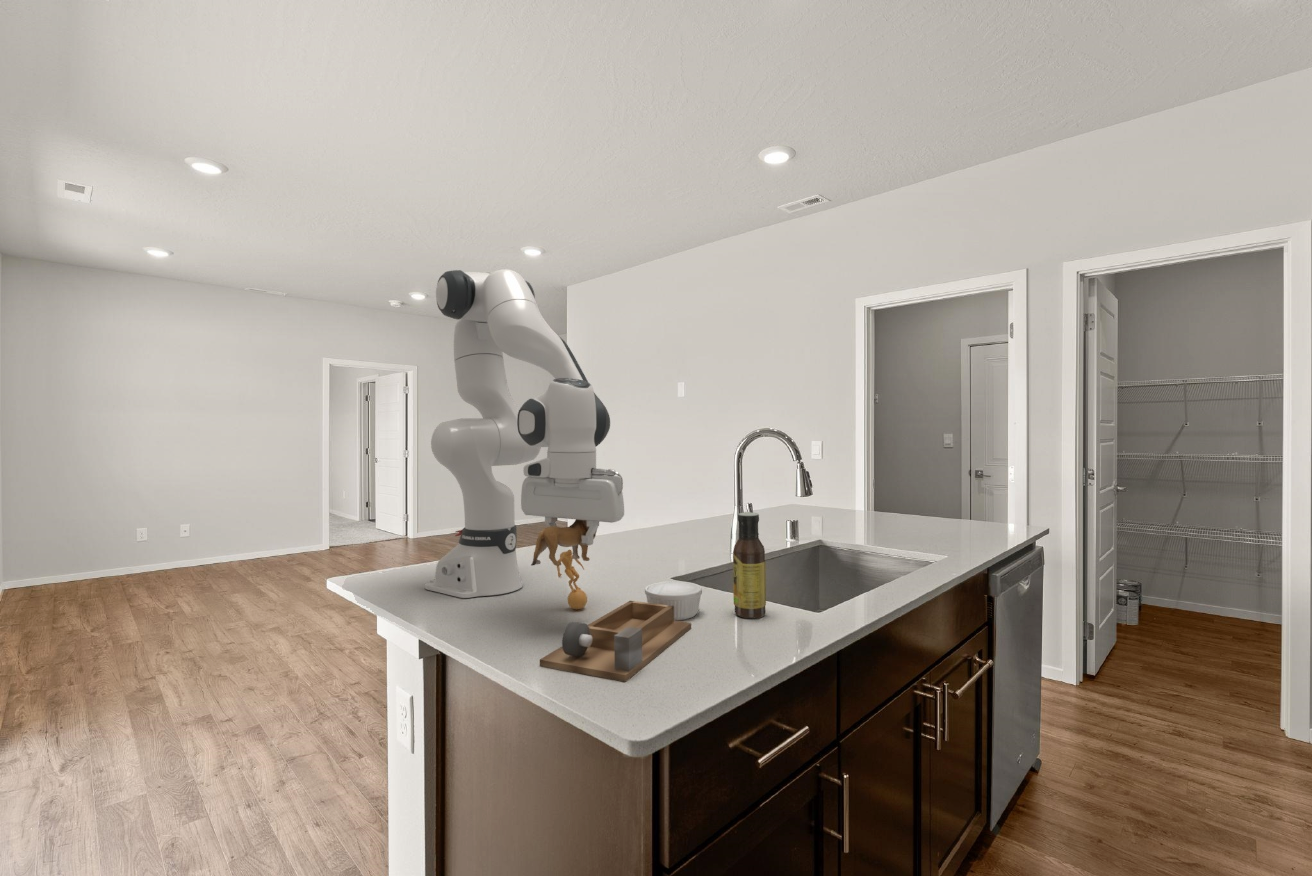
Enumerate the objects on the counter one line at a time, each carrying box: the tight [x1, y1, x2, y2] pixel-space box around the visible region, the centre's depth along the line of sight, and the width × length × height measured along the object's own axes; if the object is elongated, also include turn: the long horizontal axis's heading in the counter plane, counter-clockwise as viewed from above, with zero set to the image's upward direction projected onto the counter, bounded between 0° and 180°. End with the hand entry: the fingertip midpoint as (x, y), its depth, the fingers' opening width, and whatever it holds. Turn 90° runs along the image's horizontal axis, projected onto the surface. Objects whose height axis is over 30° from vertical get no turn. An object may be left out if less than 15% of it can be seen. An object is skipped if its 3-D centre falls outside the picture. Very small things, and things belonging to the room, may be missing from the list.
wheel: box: [561, 621, 592, 657], centre depth 97 cm, size 3×5×5 cm
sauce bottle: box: [732, 511, 767, 619], centre depth 121 cm, size 6×6×20 cm
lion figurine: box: [530, 519, 598, 567], centre depth 113 cm, size 15×5×9 cm, turn 136°
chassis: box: [539, 600, 692, 683], centre depth 105 cm, size 15×26×6 cm, turn 155°
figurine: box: [556, 548, 588, 611], centre depth 127 cm, size 8×6×12 cm
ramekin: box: [644, 580, 703, 621], centre depth 123 cm, size 11×11×5 cm
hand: (571, 542), depth 114 cm, fingers closed on lion figurine, 5 cm apart
